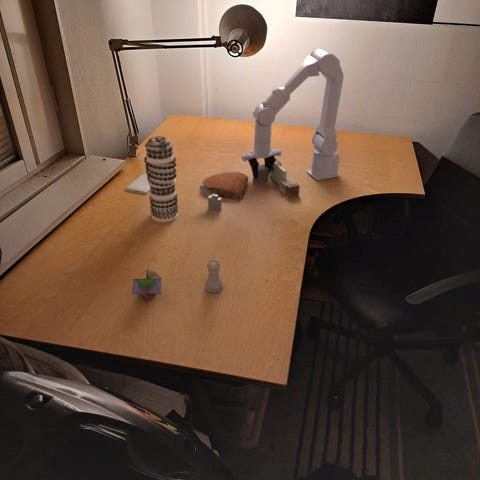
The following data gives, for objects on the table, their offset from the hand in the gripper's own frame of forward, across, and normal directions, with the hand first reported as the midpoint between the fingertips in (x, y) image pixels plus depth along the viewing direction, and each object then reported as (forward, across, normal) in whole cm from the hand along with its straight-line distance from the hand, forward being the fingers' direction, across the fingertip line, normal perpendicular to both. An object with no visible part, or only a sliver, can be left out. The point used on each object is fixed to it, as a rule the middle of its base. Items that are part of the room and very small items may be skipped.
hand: (260, 176), depth 163 cm
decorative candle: (+2, +39, +12) cm, 41 cm away
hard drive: (+2, +40, -11) cm, 42 cm away
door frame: (+1, -5, +4) cm, 7 cm away
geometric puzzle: (+2, +53, +48) cm, 72 cm away
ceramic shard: (+2, +14, +1) cm, 15 cm away
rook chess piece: (+2, +37, +51) cm, 63 cm away
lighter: (+2, +24, +13) cm, 27 cm away
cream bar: (+1, -5, +4) cm, 7 cm away
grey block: (+1, 0, 0) cm, 1 cm away
